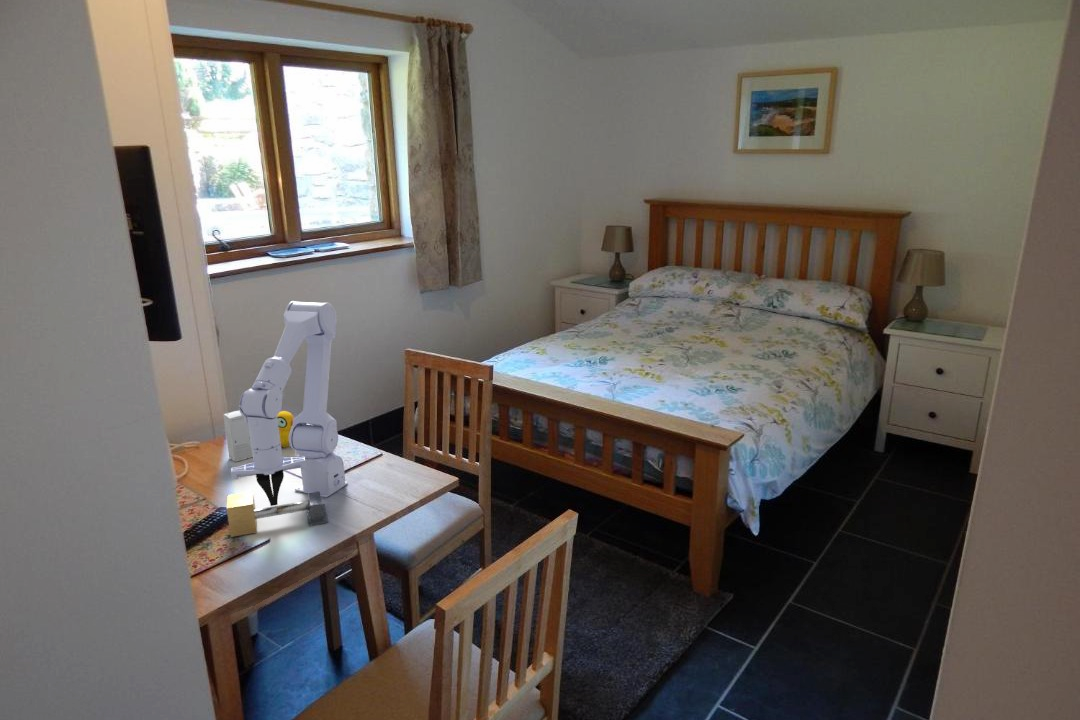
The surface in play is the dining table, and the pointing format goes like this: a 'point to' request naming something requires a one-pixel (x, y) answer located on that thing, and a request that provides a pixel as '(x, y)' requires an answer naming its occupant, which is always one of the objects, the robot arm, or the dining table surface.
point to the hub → (241, 514)
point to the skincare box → (237, 436)
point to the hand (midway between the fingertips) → (274, 503)
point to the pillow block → (316, 510)
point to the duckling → (284, 427)
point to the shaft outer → (266, 512)
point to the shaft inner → (293, 507)
